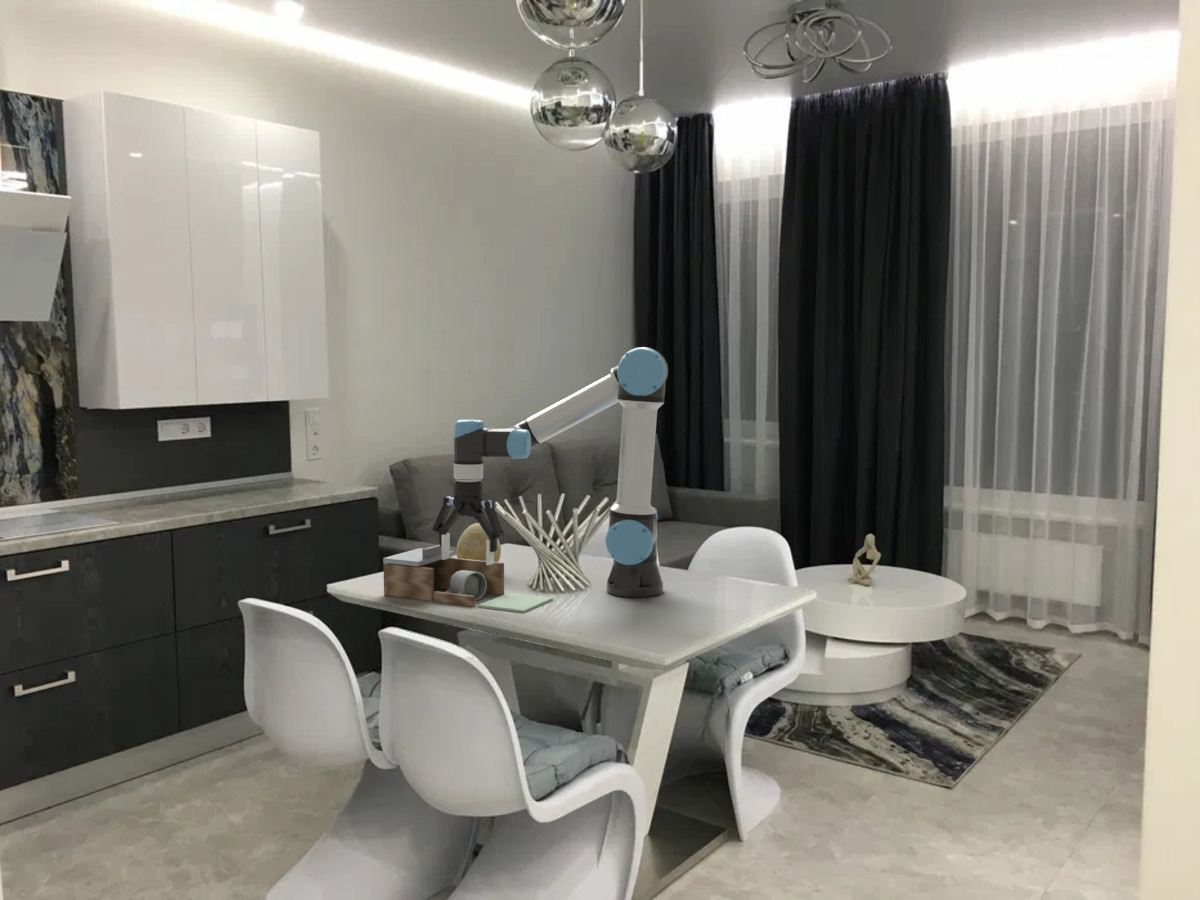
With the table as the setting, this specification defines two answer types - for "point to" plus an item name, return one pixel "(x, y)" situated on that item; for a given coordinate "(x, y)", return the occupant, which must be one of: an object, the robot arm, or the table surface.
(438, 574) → the walnut well board
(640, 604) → the table surface
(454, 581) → the ceramic mug
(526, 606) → the sage mat
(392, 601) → the table surface
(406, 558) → the sliding cover
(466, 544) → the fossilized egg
